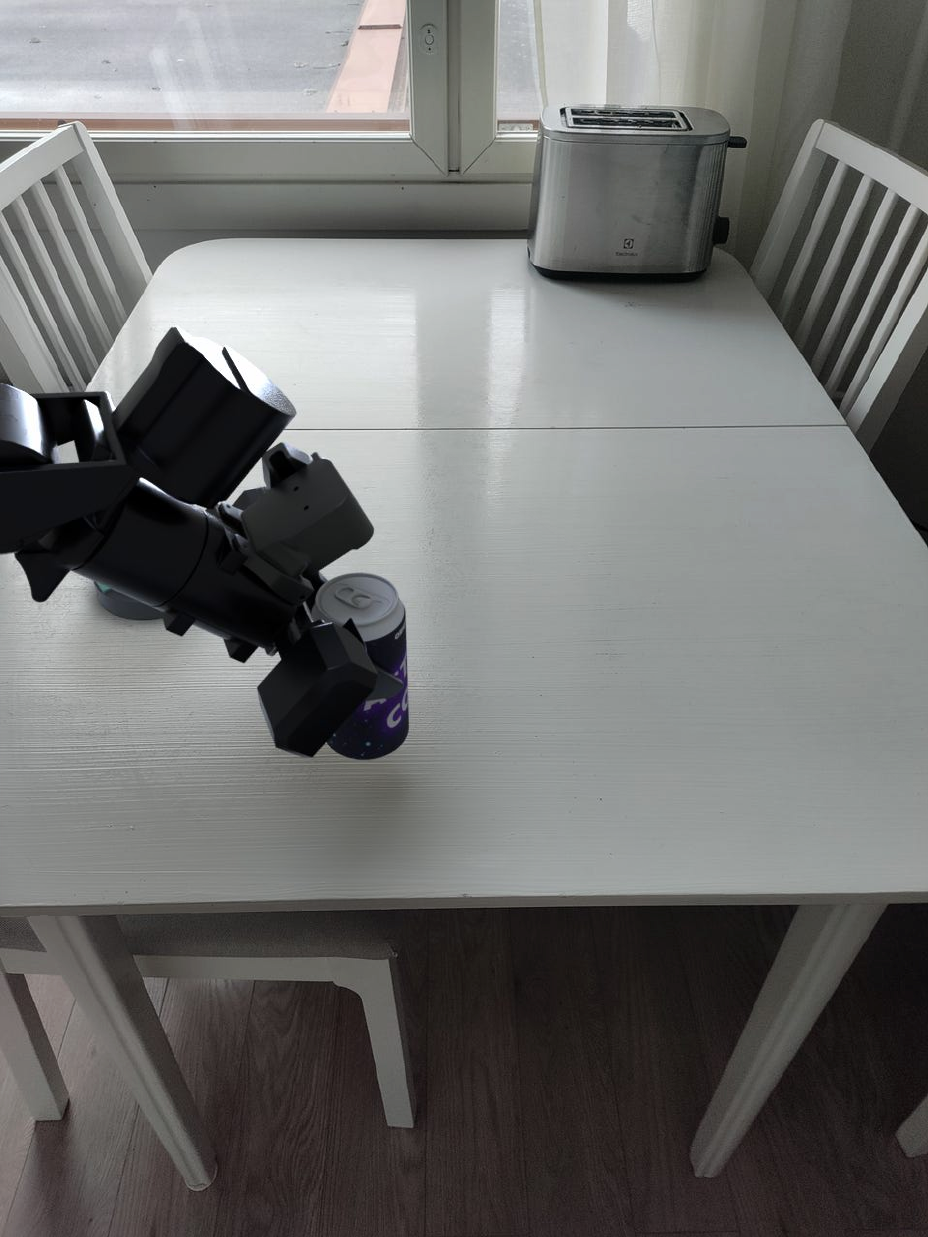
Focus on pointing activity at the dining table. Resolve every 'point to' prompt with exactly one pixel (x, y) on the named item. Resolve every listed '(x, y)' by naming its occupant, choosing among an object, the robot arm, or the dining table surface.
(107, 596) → the kitchen scale
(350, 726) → the beverage can
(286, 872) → the dining table surface
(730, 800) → the dining table surface
